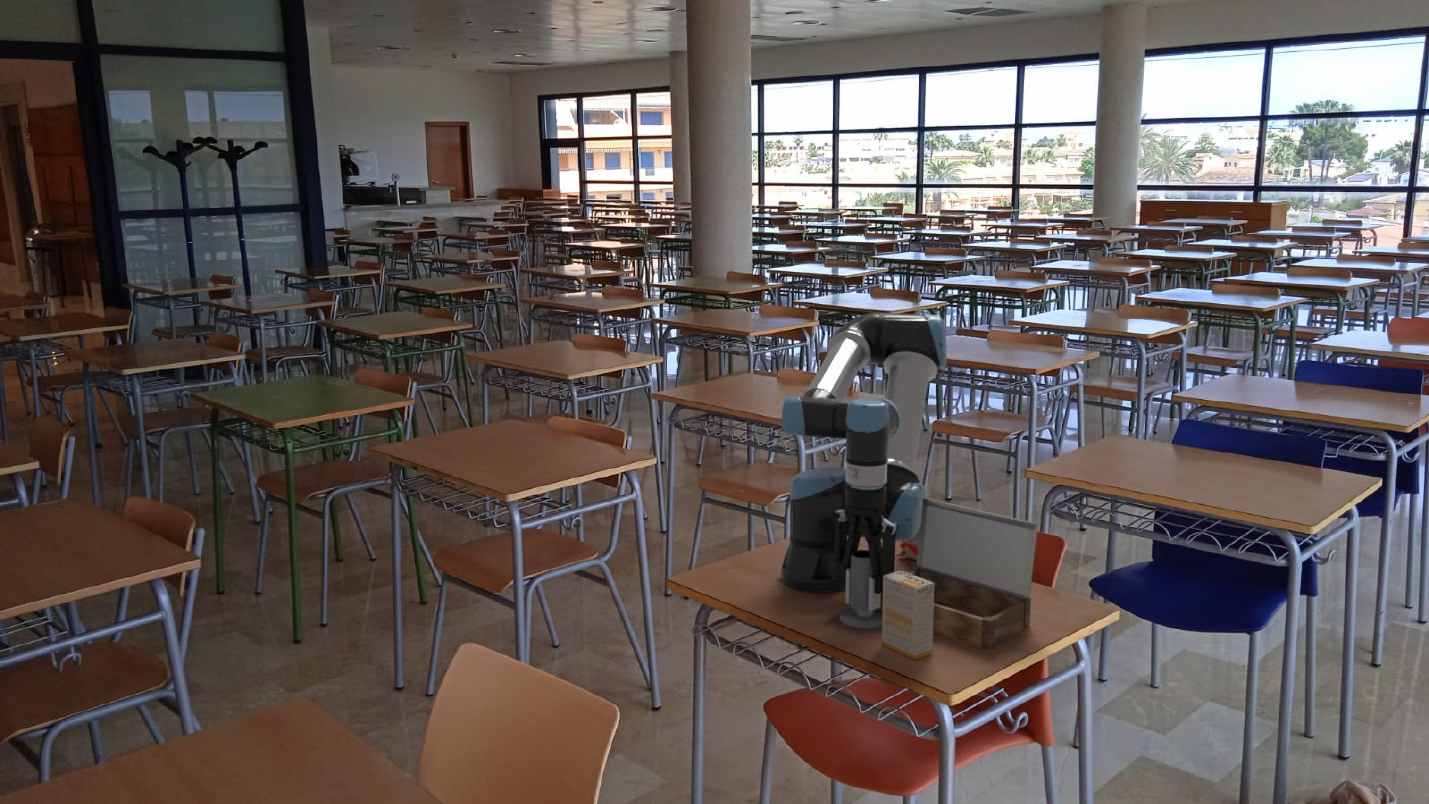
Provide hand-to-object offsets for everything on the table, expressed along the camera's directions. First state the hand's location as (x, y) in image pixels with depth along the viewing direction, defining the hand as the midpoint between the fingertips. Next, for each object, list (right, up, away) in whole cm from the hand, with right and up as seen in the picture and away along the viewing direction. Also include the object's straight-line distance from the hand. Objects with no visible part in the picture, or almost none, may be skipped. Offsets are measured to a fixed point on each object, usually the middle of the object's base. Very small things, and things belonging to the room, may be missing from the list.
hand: (862, 604), depth 196 cm
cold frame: (+17, -3, +1) cm, 17 cm away
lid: (+21, +10, +4) cm, 24 cm away
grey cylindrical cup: (0, 0, 0) cm, 1 cm away
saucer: (0, -3, +1) cm, 3 cm away
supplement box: (+6, -6, -11) cm, 14 cm away
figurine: (+17, +4, +35) cm, 39 cm away
